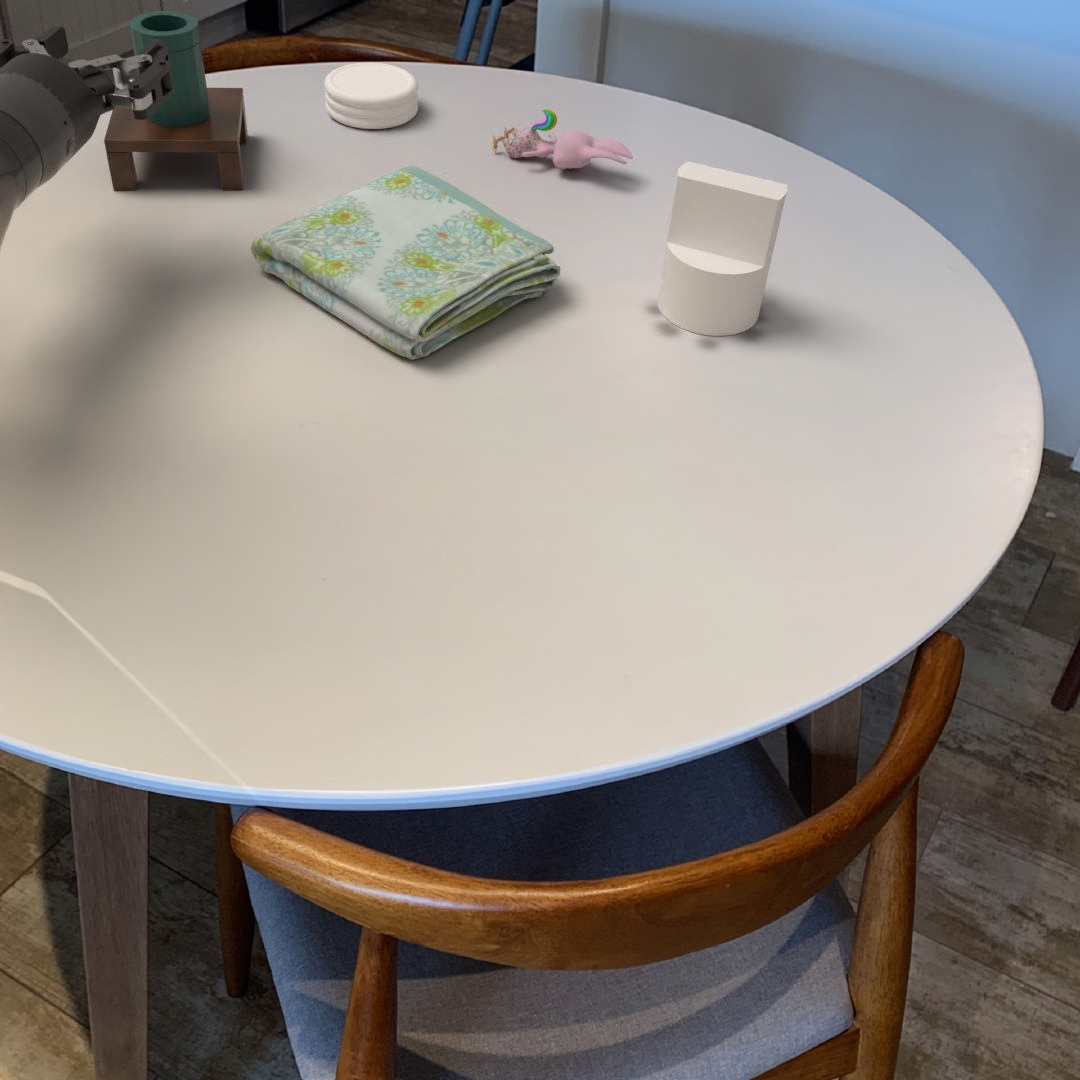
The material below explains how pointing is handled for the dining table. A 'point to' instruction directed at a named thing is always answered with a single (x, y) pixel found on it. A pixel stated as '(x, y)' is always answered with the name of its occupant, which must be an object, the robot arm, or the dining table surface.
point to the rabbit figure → (560, 145)
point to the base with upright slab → (718, 249)
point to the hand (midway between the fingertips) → (111, 44)
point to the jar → (176, 64)
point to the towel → (408, 261)
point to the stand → (181, 139)
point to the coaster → (371, 95)
